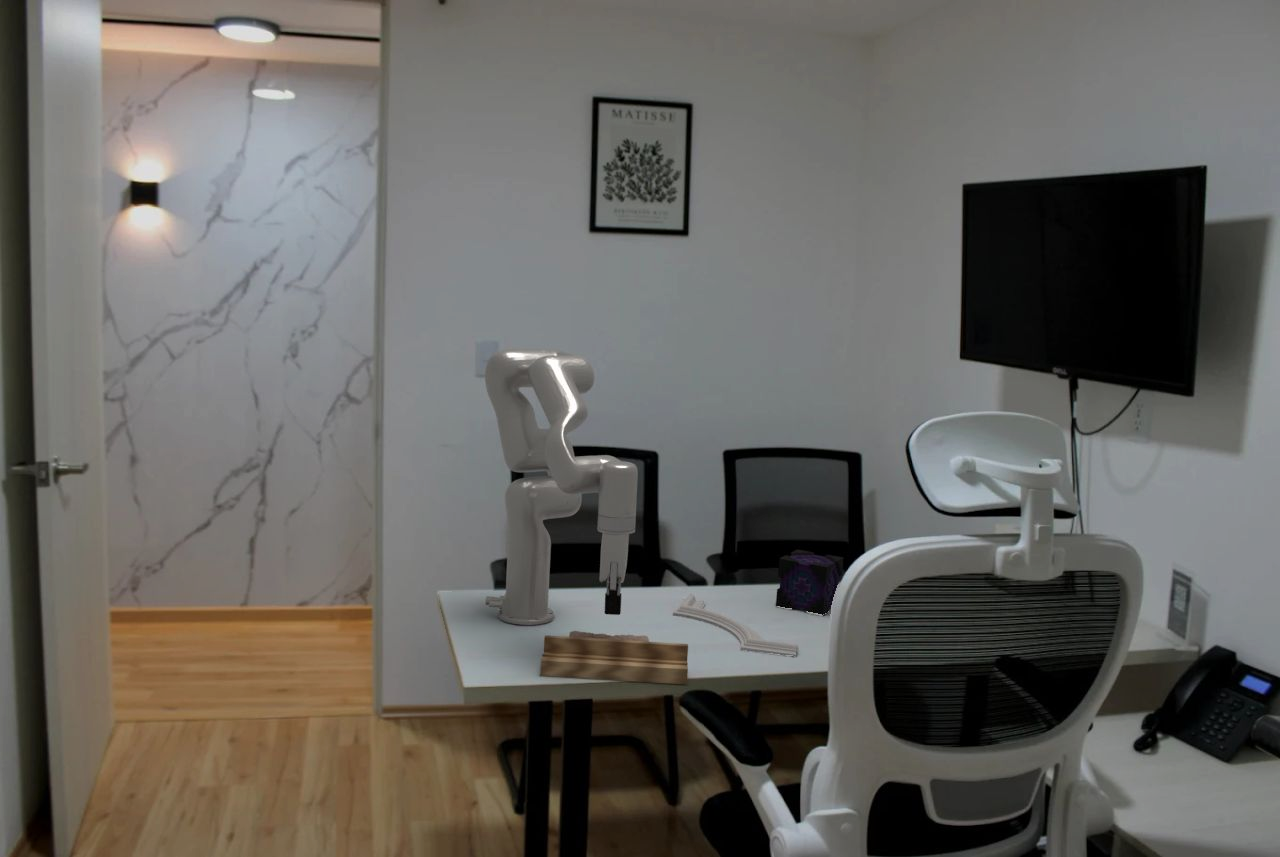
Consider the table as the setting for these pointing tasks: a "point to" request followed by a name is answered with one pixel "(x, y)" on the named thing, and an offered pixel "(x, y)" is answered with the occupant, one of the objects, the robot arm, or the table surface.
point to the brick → (608, 636)
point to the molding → (733, 628)
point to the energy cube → (808, 581)
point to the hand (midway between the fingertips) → (612, 613)
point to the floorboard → (615, 659)
